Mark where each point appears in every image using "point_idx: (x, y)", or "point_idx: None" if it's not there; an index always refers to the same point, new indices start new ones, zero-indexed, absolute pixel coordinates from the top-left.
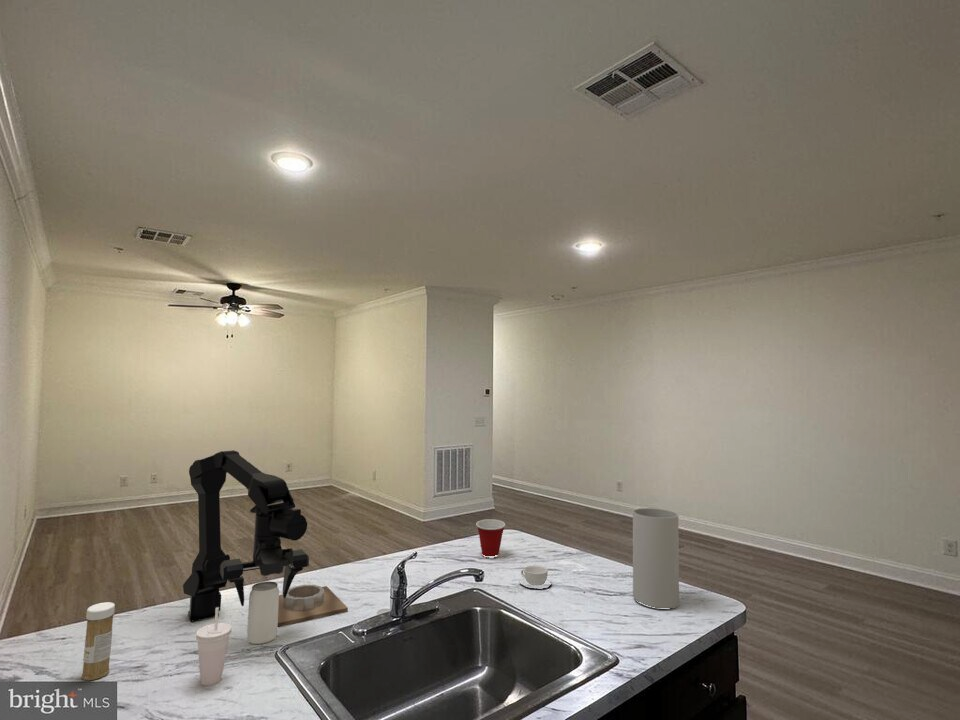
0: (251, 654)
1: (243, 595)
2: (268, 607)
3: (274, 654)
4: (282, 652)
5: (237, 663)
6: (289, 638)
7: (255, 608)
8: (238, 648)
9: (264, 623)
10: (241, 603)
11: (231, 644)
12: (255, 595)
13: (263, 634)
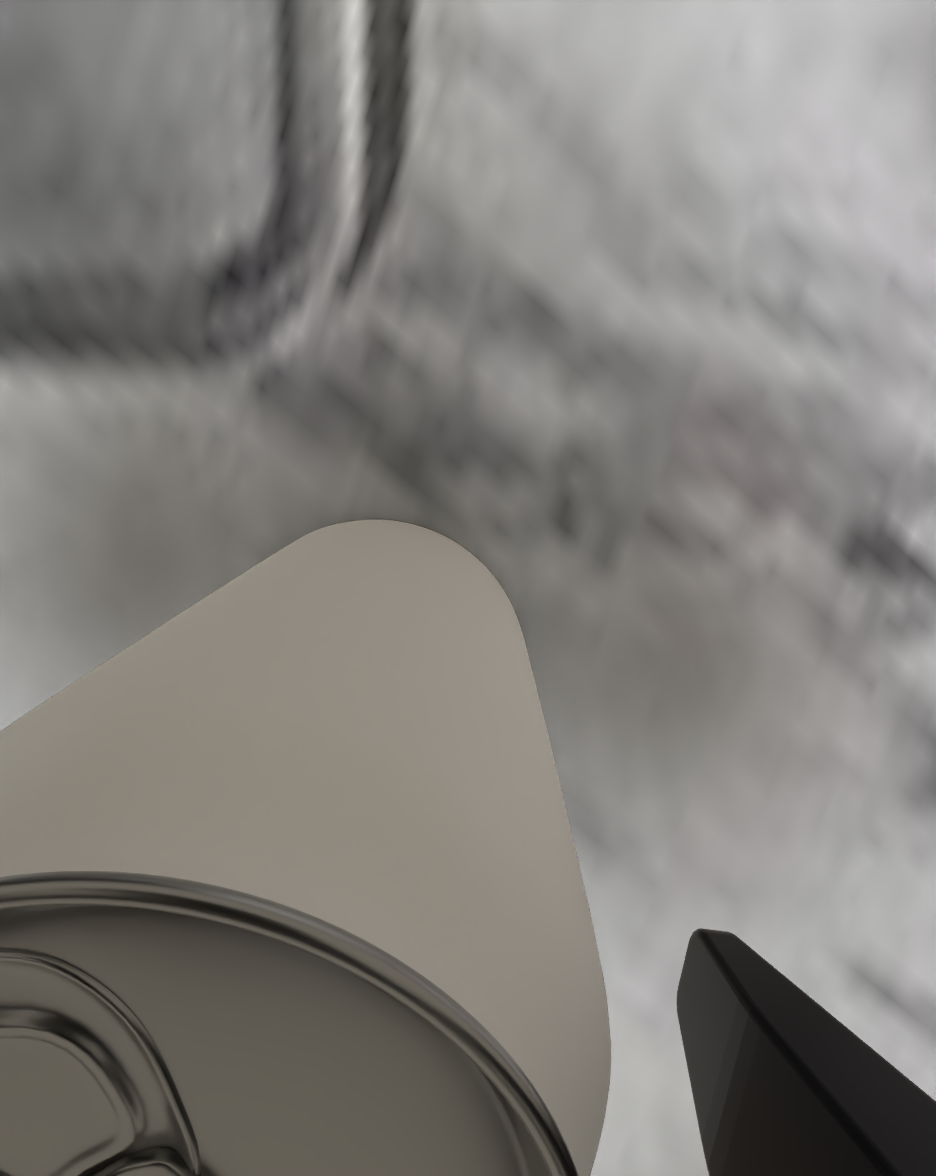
0: (579, 388)
1: (845, 1108)
2: (286, 610)
3: (392, 221)
4: (307, 208)
5: (756, 286)
6: (148, 483)
7: (519, 725)
8: (631, 601)
9: (390, 556)
10: (767, 966)
11: (652, 723)
12: (546, 937)
13: (408, 536)
